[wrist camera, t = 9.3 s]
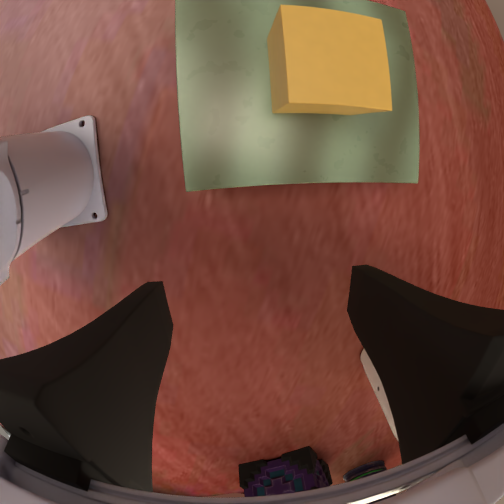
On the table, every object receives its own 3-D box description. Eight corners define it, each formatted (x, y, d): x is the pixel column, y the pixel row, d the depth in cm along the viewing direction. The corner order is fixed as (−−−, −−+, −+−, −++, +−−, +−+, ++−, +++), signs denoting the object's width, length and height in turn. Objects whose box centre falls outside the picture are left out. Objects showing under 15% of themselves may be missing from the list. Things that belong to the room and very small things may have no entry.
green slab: (196, 179, 19) (185, 192, 14) (186, 21, 14) (175, -6, 10) (384, 172, 19) (418, 183, 15) (375, 28, 14) (405, 11, 10)
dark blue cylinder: (365, 461, 40) (384, 518, 27) (392, 458, 43) (411, 508, 29) (333, 480, 44) (347, 532, 30) (362, 477, 46) (377, 524, 32)
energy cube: (268, 481, 40) (274, 531, 29) (238, 464, 35) (242, 526, 24) (327, 464, 38) (341, 516, 27) (308, 446, 34) (323, 511, 23)
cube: (271, 113, 13) (288, 103, 9) (266, 38, 11) (279, 4, 7) (351, 115, 13) (393, 111, 9) (345, 44, 12) (382, 19, 7)
